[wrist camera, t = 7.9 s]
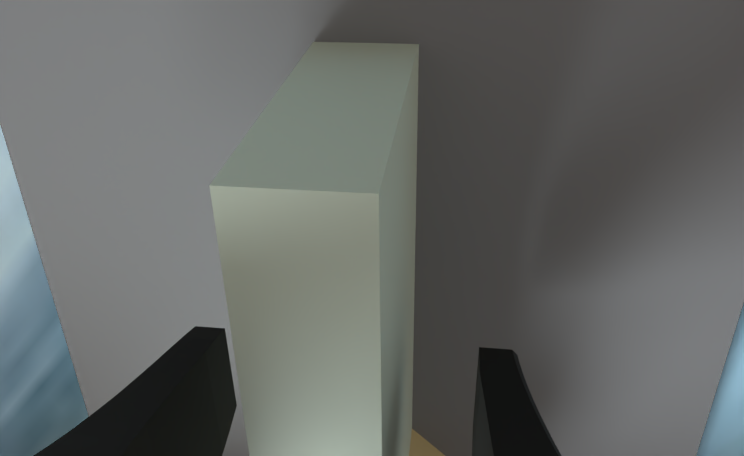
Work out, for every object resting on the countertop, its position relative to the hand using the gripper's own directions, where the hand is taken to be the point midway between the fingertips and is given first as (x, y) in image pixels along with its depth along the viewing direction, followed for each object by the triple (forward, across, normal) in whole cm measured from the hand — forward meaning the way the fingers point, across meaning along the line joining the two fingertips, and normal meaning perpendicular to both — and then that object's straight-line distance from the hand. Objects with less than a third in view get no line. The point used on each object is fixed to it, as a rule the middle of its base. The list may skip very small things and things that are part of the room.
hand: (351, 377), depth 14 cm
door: (+3, 0, +1) cm, 3 cm away
